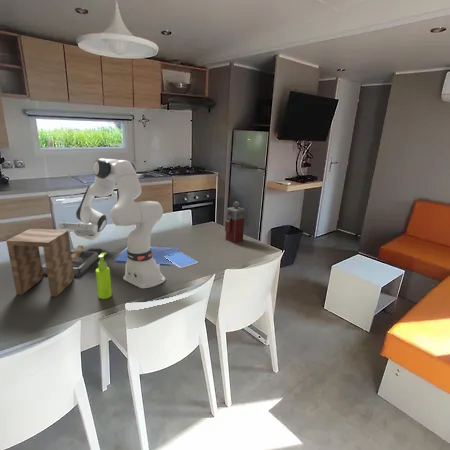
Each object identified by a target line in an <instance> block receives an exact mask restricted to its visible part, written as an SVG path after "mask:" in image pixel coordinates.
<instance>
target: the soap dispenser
mask: <svg viewBox="0 0 450 450" xmlns="http://www.w3.org/2000/svg"><path fill="white" fill-rule="evenodd" d="M107 254H108V253H107V252H101V253H100V254H98V259H99V261H98V262H97V268H96V269H95V278H96V288H97V297H98V298H99V299H102V300H105V299H106V300H107V299H109V298H110V297H112V296H113V293H112V292H113V291H112V290H113V289H112V280H111V279H112V278H111V270H110V267H108V266H107V261H106V260H105V259H104V258H105V257H106V255H107Z"/></svg>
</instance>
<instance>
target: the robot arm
mask: <svg viewBox="0 0 450 450" xmlns="http://www.w3.org/2000/svg"><path fill="white" fill-rule="evenodd" d="M93 173H94V175H95V176H94V177H95V178H94V182H93V183H91V184H90V185H89V186H88V187H87V188H86V189H85V191H84V195H83V197H82V200H81V201H80V204H79V206H78V208H77V209H76V212H75V215H76V219H77V220H78V221H79V222H77V223H75V222H74V223H73V222H58V223H57V230H68V232H74V233H73V234H75V236H77V237H80V238H83V239H85V240H89V241H94V240H96V239H98V238H99V237H100V235H101V232H102V231H103V230H104V229H105V227H106V226H107V223H108V222H107V221H108V219H107V218H108V217H107V215H106V214H104V213H102V212H100V211H98V210H96V209H94V208H92V206H91V204H92V202H93V199H94V197H100V198H105V197H109V196H110V195H111V194H113V193H114V190H115V187H117V191H118V199H117V202H116V203H115V204H114V205H113V206H112V207H111V209H110V212H109V218H110V220H111V222H112V223H113V224H114V225H115V226H116V227H117V226H118V227H128V226H136V227H135V228H134V229H133V230H131V231H130V232H129V233H128V235H127V249H126V251H127V252H126V255H127V256H126V257H127V260H126V262H125V267H124V268H125V271H124V275H123V278H122V279H123V281H125V282H128V283H130V284H131V285H133V286H136V287H138V288H140V289H148V288H149V289H150V288H153V287H156V286H158V285H161V284H162V283H164V282H165V281H166V277H165V276H164V275H163V274H162V272H161V264H160V263H157V262H156V259H155V258H154V257H153V250H152V248H151V236H152V231H153V229H154V228H155V225H157V223H158V222H159V221H160V220H161V219H162V218H163V214H164V209H163V206H162V204H161V203H160V202H159V201H154V200H145V201H134V200H136V199H137V198H138V197H140V196H141V194H142V186H141V183H140V179H139V177H138V174H137V169H136V166H135V164H134V163H133V162H131V161H129V160H126V159H116V158H103V157H102V158H98V159H97V158H96V160H95V161H94V162H93Z"/></svg>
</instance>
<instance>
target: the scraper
mask: <svg viewBox="0 0 450 450" xmlns="http://www.w3.org/2000/svg"><path fill="white" fill-rule="evenodd" d="M73 251H74V252H73V254H72V255H71V257H72V265H73V266H81V265H82V263H83V261H82V258H78V257H79V255H80V254H81V252H82V251H85V250H84V245H78V246H77V247H76V248H75V250H73Z"/></svg>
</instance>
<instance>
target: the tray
mask: <svg viewBox="0 0 450 450" xmlns="http://www.w3.org/2000/svg"><path fill="white" fill-rule="evenodd" d="M74 251H75V250H72V249H71V255H72V254H73V252H74ZM98 257H99V251H89V250H88V251H87V250H83V251H82V252H81V254H80V255H79V257H78V258H82V261H83V263H82V265H81V266H73V273H74V277H80V276H81V275H83V274H84V273H85V272H86V271H87V270H88V269H89V268H90V267H91V266H92V265H93V264H94V263H96V261H97V260H99V258H98ZM41 265H42V271H43V275H47V268H46V262H45V263H43V264H41Z"/></svg>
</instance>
